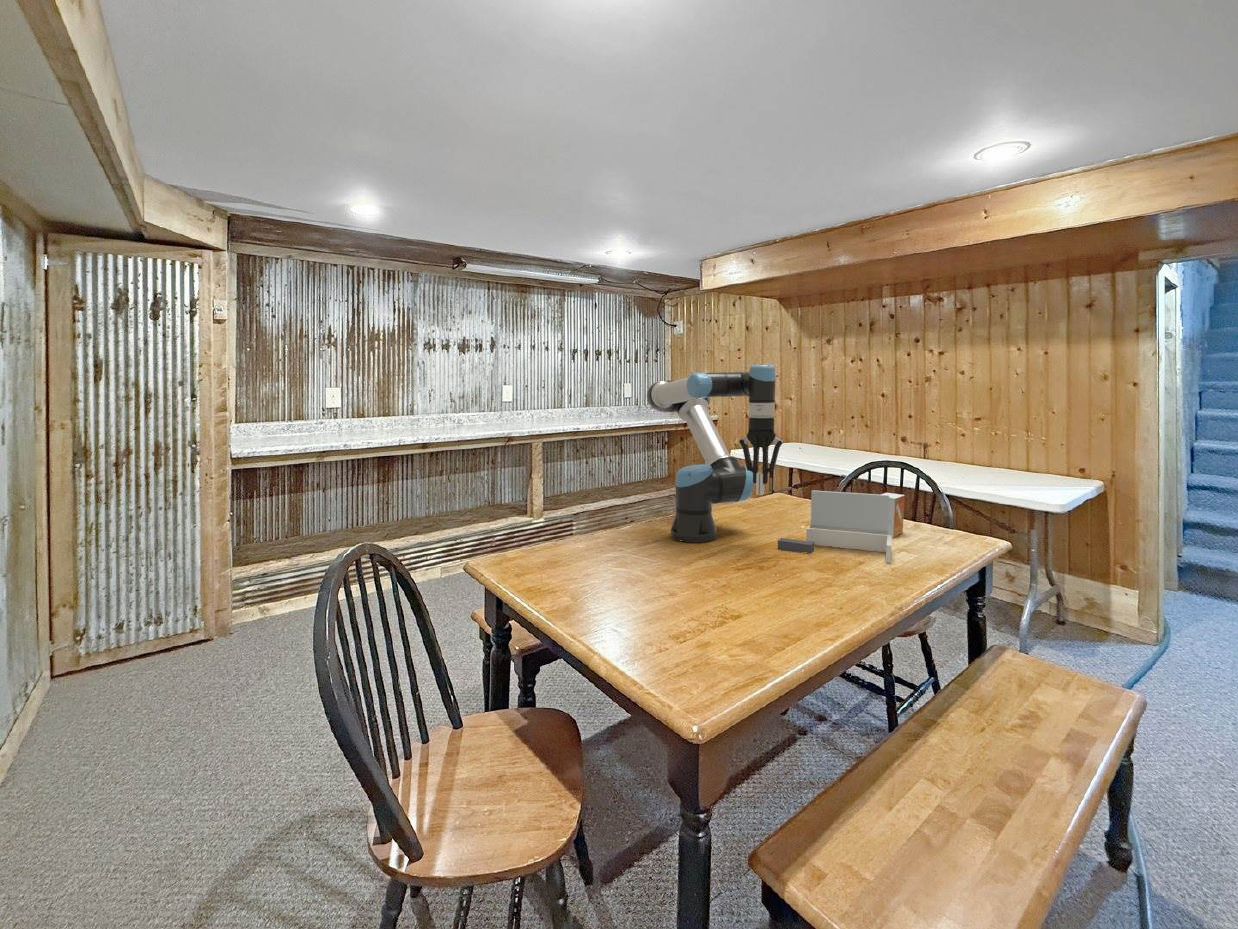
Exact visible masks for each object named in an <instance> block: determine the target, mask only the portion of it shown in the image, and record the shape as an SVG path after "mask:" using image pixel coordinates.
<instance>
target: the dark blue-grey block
mask: <svg viewBox="0 0 1238 929" xmlns="http://www.w3.org/2000/svg"><path fill="white" fill-rule="evenodd" d="M780 549H781V550H780ZM777 550H780V551H789V552H795V553H801V552H807V553H806V554H809V553H812V552H813V553H814V552H815V545H814V542H810V541H806V540H801V539H793V538H787V537H780V538H779V539H778V540H777ZM813 553H812V554H813Z"/></svg>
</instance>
